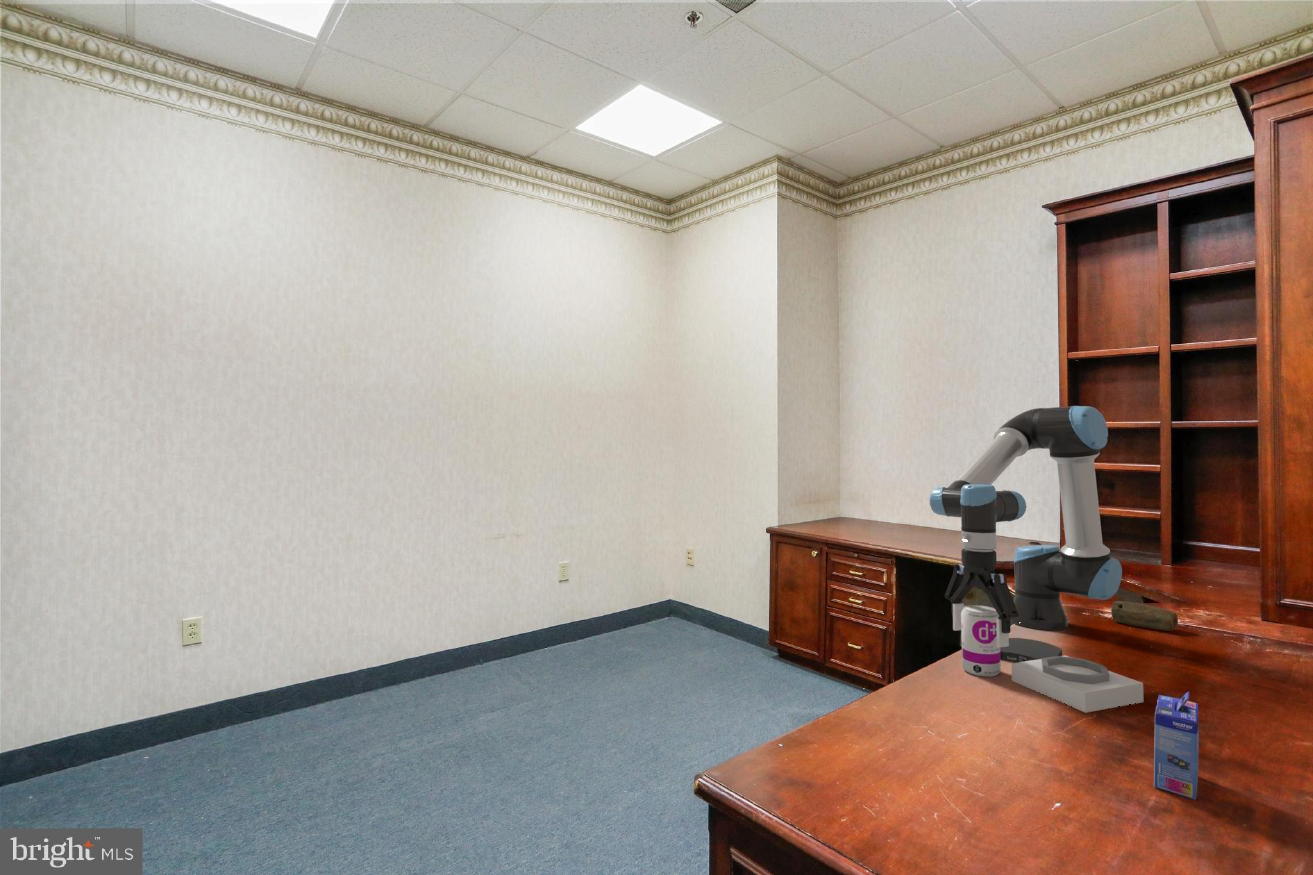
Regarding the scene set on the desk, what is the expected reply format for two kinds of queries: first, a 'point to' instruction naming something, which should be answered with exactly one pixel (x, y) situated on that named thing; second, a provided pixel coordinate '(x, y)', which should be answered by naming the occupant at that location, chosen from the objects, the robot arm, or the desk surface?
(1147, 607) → the stone weight
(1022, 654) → the media streaming box
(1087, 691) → the mount base
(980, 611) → the supplement can
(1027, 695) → the desk surface
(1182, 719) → the ink cartridge box
